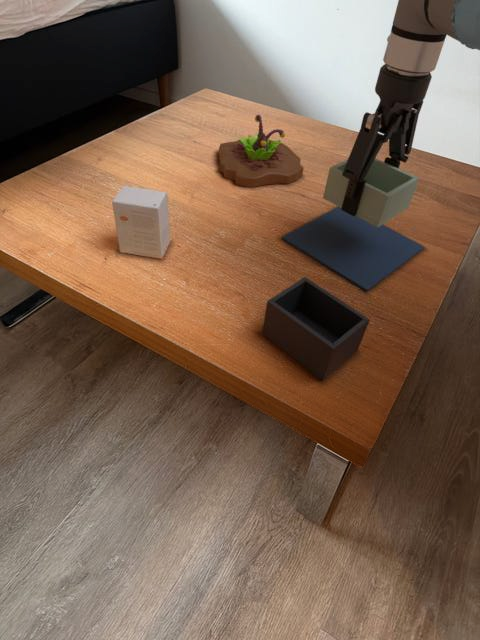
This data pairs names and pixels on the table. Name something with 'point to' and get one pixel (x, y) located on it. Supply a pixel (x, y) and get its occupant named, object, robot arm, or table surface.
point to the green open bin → (374, 191)
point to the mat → (353, 247)
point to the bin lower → (314, 327)
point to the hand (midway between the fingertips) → (365, 202)
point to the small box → (142, 221)
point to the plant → (259, 160)
